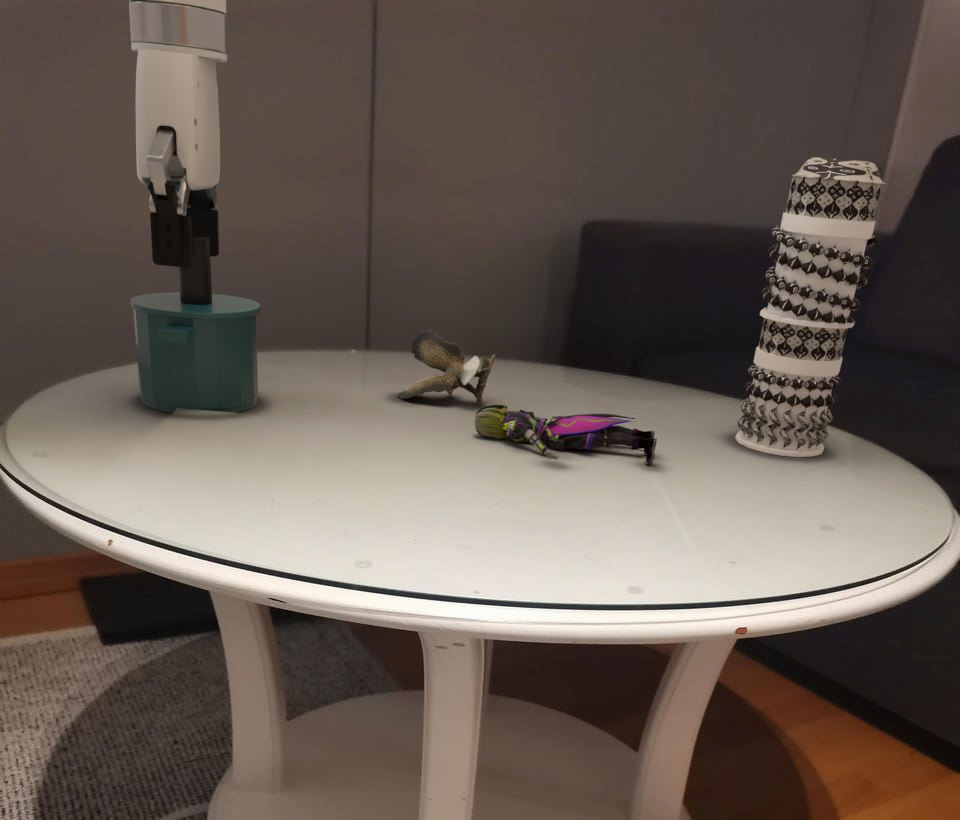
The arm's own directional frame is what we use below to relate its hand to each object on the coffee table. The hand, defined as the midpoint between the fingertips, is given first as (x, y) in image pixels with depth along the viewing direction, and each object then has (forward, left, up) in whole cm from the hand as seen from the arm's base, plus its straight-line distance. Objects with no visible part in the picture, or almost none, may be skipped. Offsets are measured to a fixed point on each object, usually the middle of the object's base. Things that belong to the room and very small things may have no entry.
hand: (187, 260), depth 87 cm
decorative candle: (+56, 0, -13) cm, 58 cm away
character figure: (+34, -8, -13) cm, 38 cm away
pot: (0, 0, -13) cm, 13 cm away
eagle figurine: (+23, +8, -13) cm, 28 cm away
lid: (+1, 0, -4) cm, 4 cm away
